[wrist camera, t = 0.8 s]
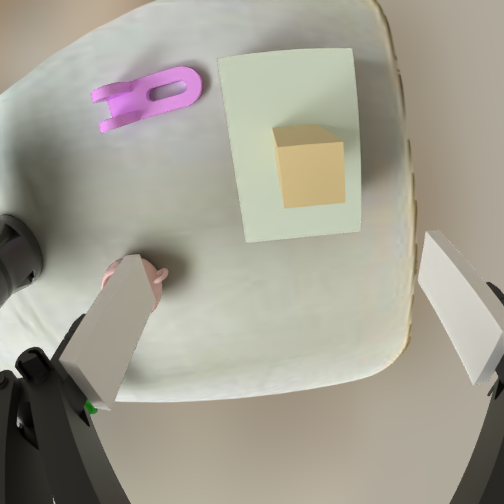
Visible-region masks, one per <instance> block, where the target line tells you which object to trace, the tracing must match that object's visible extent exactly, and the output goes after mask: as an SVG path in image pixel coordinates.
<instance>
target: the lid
mask: <svg viewBox="0 0 504 504" xmlns="http://www.w3.org/2000/svg"><path fill="white" fill-rule="evenodd" d="M217 62H218V69H219V75H220V81H221V88H222V94H223V101H224V107H225V113H226V120H227V126H228V133H229V139H230V145H231V152H232V158H233V164H234V170H235V177H236V183H237V189H238V196H239V202H240V208H241V214H242V221H243V227H244V233H245V239H246V243H252V242H261V241H271V240H280V239H290V238H300V237H309V236H319V235H329V234H339V233H349V232H359V231H361V152H360V129H359V113H358V99H357V88H356V77H355V68H354V59H353V51H352V48H312V49H292V50H279V51H268V52H259V53H250V54H243V55H235V56H229V57H223V58H217Z"/></svg>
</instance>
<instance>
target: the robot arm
mask: <svg viewBox="0 0 504 504" xmlns="http://www.w3.org/2000/svg"><path fill="white" fill-rule="evenodd" d="M41 271H42V255H41V251H40V248H39V246H38V243H37V241H36V239H35V237H34V236H33V234H32V233H31V231H30V230H29V229H28V228H27V227H26V226H25V225H24V224H23V223H22V222H21V221H20V220H18V219H17V218H15V217H13V216H10V215H1V216H0V308H1V307H2V305H3V304H4V303H5V302H6V300H7V299H8V298H9V297H10V296H11V295H12V294H13V293H15V292H17V291H19V290H21V289H24V288H26V287H28V286H30V285H31V284H32V283H33V282H34V281H35V280H36V279H37V278H38V277H39V275H40V273H41ZM418 283H419V284H420V286H421V287H422V289H423V291H424V293H425V294H426V296H427V298H428V299H429V301H430V303H431V305H432V306H433V308H434V310H435V312H436V313H437V315H438V317H439V319H440V321H441V322H442V324H443V326H444V328H445V330H446V332H447V333H448V335H449V337H450V339H451V341H452V343H453V345H454V347H455V349H456V351H457V353H458V355H459V357H460V359H461V361H462V363H463V365H464V367H465V369H466V371H467V373H468V376H469V378H470V380H471V382H472V384H473V386H475V385H478V384H481V383H484V382H487V381H489V379H490V378H491V376H492V375H493V373H494V371H496V372H497V375H498V379H497V380H496V382H495V383H494V385H493V386H492V388H491V390H490V391H489V393H488V396H490V394H491V393H492V392H493V393H492V397H491V401H490V404H489V408H488V411H487V414H486V417H485V420H484V423H483V426H482V429H481V432H480V435H479V438H478V441H477V443H476V446H475V449H474V451H473V454H472V456H471V459H470V461H469V464H468V466H467V468H466V471H465V473H464V475H463V477H462V479H461V481H460V484H459V486H458V488H457V490H456V492H455V494H454V496H453V498H452V500H451V502H450V504H504V294H503V293H502V292H501V290H500V289H499V288H497V287H496V286H495V285H493V284H492V283H490V282H485V281H484V280H483V279H482V278H481V276H480V275H479V274H478V273H477V271H476V270H475V269H474V268H473V267H472V265H471V264H470V263H469V262H468V261H467V260H466V258H465V257H464V256H463V255H462V254H461V253H460V252H459V251H458V250H457V248H456V247H455V246H454V245H453V244H452V243H451V242H450V241H449V239H448V238H447V237H446V236H444V234H443V233H442V232H441V231H440V230H432V231H426V234H425V241H424V248H423V254H422V260H421V265H420V270H419V276H418ZM155 302H156V300H155V297H154V295H153V292H152V289H151V286H150V283H149V281H148V278H147V275H146V272H145V269H144V266H143V263H142V260H141V257H140V254H136V255H126V256H125V257H124V259H123V260H122V261H121V263H120V264H119V266H118V267H117V268H116V270H115V271H114V273H113V274H112V276H111V277H110V279H109V280H108V282H107V283H106V285H105V286H104V287H103V289H102V290H101V292H100V293H99V295H98V297H97V298H96V300H95V301H94V303H93V304H92V306H91V307H90V309H89V310H88V312H87V314H82V315H81V316H80V317H79V318H78V319H77V320H75V321H74V323H73V324H72V326H71V327H70V329H69V332H67V334H66V335H65V337H64V339H63V340H62V342H61V343H60V345H59V347H58V348H57V350H56V352H55V353H54V355H53V357H52V359H51V360H49V359H48V357H47V356H46V354H45V353H44V351H43V350H42V349H41V348H39V347H32V348H29V349H27V350H25V351H24V352H23V353H22V354H21V355H20V356H19V357H18V359H17V361H16V364H15V368H16V369H17V370H18V371H19V373H20V374H21V375H22V377H23V378H17V377H16V376H15V375H14V374H13V372H12V371H10V370H4V371H1V372H0V504H54V503H53V498H54V501H55V503H56V504H131V503H130V501H129V500H128V498H127V496H126V494H125V492H124V490H123V488H122V487H121V485H120V483H119V481H118V479H117V477H116V475H115V473H114V471H113V469H112V466H111V464H110V463H109V460H108V458H107V456H106V453H105V451H104V449H103V447H102V444H101V442H100V440H99V437H98V435H97V432H96V430H95V427H94V425H93V422H92V420H91V417H90V415H89V412H88V410H87V409H86V407H85V403H86V401H87V399H88V400H89V402H90V403H91V404H92V405H93V407H94V408H98V409H104V410H111V409H112V406H113V403H114V401H115V398H116V396H117V393H118V390H119V388H120V385H121V383H122V380H123V378H124V375H125V373H126V370H127V368H128V365H129V363H130V360H131V358H132V355H133V353H134V350H135V348H136V346H137V343H138V341H139V339H140V336H141V334H142V332H143V329H144V327H145V325H146V322H147V320H148V318H149V315H150V313H151V311H152V309H153V306H154V304H155ZM17 420H18V421H19V422H20V426H19V427H17Z"/></svg>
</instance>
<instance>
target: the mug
mask: <svg viewBox="0 0 504 504" xmlns="http://www.w3.org/2000/svg"><path fill="white" fill-rule="evenodd" d="M123 259H124V258H121V259H119V260H116V261H115V262H114V263H112V264H111V265H110V266H109V267H108V269H107V270H106V272H105V274H104V276H103V279H102V282H101V288H102V289H103V287H104V286H105V285H106V283H107V282H108V280H109V279H110V277H111V276H112V274H113V273H114V271H115V270H116V268H117V267H118V266H119V264H120V263H121V261H122V260H123ZM141 260H142V263H143V266H144V269H145V272H146V275H147V278H148V281H149V283H150V286H151V289H152V292H153V295H154V297H155V300H156V302H155V304H154V306H153V309H152V311H151V313H152V312H153V311H154V310H155V309H156V307H157V305H158V303H159V301H160V299H161V295H162V282H161V281H163V280H164V279H165V278H166V277H167V275H168V269H166V268H162V269H160V270H158V271H157V269H156V268H155V267H154V266H153V265H152V264H151V263H150V262H148V261H147V260H145V259H143V258H141ZM162 273H163V274H162ZM161 274H162V275H161ZM160 275H161V276H160ZM151 313H150V314H151Z"/></svg>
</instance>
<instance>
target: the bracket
mask: <svg viewBox="0 0 504 504" xmlns="http://www.w3.org/2000/svg"><path fill="white" fill-rule="evenodd" d="M181 80H182V81H184V82H185V83H186V85H187V89H186V91H185V92H184V93H182V94H178V95H175V96H171V97H167V98H164V99H160V100H157V101H153V100H151V99H150V97H149V93H150V91H151V90H152V89H153V88H156V87H160V86H163V85H166V84H170V83H173V82H177V81H181ZM202 90H203V82H202V79H201V76H200V75H199V74H198V73H197V72H196V71H195V70H193V69H191V68H188V67H183V66H180V67H174V68H171V69H168V70H164V71H161V72H158V73H155V74H151V75H148V76H145V77H142V78H139V79H136V80H134V81H130V82H119V83H112V84H109V85H105V86H103V87H100V88H97V89H95V90H93V91H92V92H91V96H92V100H93V103H95V102H101V101H106V100H108V104H109V108H110V112H111V116H112V118H110V119H107V120H104V121H102V122H99V123H98V124H99V128H100V131H101V133H104V132H106V131H109V130H112V129H115V128H118V127H121V126H123V125H126V124H129V123H132V122H135V121H138V120H141V119H144V118H147V117H150V116H154V115H157V114H161V113H164V112H168V111H171V110H175V109H179V108H183V107H186V106H189V105H191V104H193V103H195V102H196V101H197V100H198V99H199V97H200V95H201V93H202Z"/></svg>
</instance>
